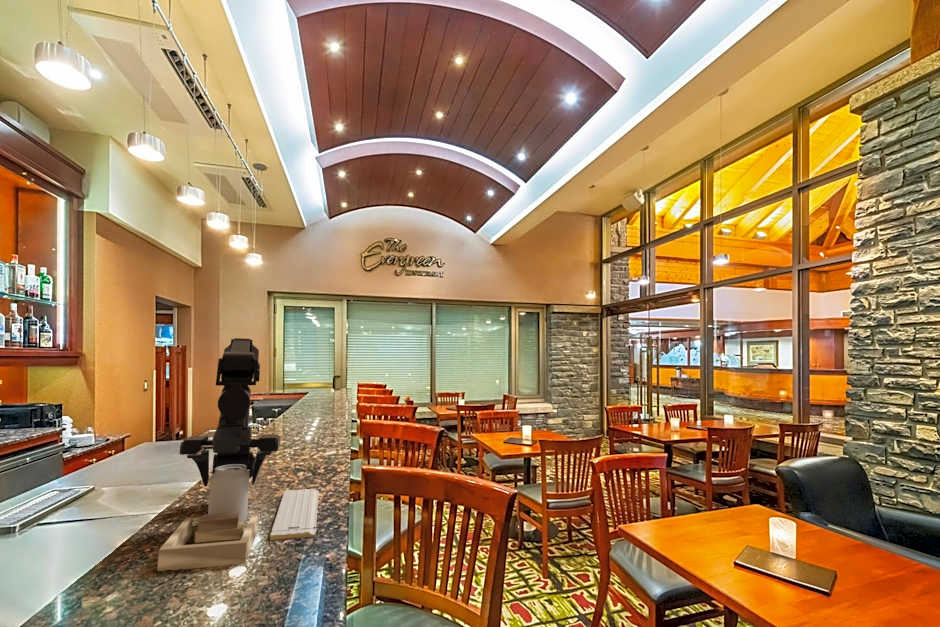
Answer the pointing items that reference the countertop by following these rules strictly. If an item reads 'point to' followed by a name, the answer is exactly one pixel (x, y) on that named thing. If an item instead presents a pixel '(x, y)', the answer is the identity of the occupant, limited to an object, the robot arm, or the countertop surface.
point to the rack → (205, 549)
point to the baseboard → (296, 515)
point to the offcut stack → (219, 527)
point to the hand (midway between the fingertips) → (230, 484)
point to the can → (229, 490)
